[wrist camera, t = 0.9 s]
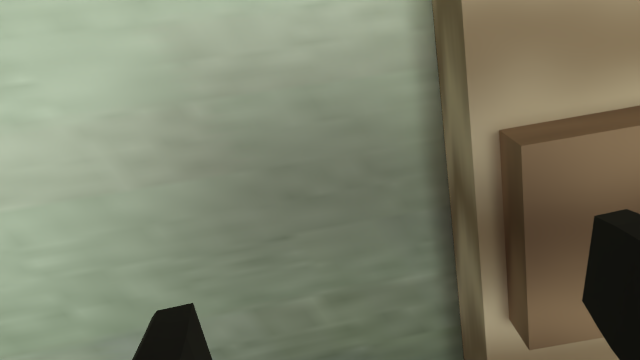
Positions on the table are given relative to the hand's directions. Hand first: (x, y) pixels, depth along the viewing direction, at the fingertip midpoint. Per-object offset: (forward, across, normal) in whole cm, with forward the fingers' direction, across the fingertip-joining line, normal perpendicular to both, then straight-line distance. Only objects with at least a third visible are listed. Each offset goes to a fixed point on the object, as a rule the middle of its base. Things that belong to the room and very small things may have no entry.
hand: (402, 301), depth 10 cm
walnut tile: (+9, -9, +6) cm, 14 cm away
